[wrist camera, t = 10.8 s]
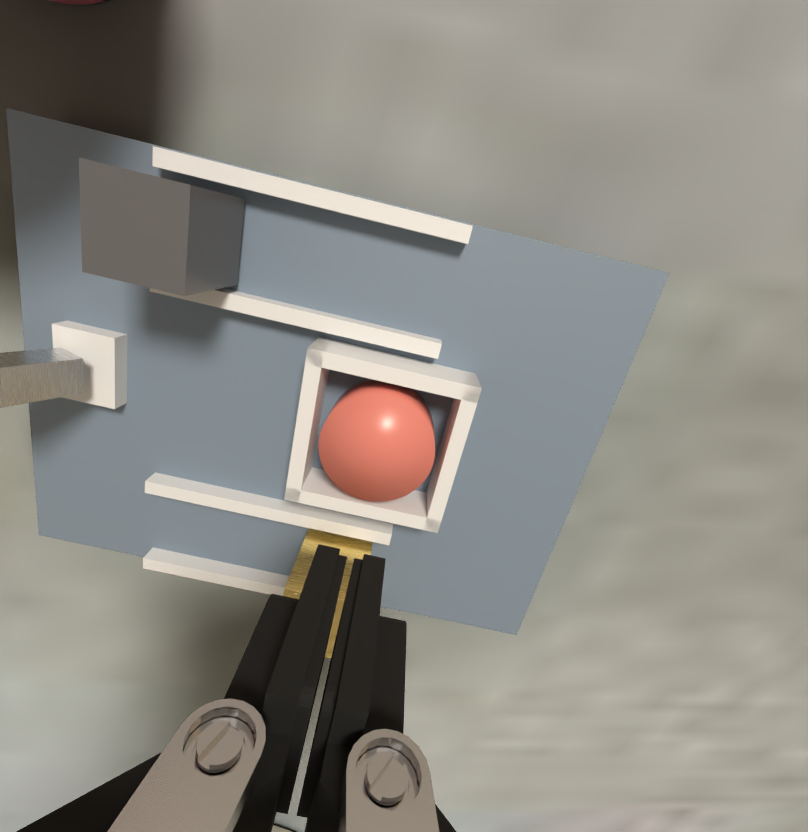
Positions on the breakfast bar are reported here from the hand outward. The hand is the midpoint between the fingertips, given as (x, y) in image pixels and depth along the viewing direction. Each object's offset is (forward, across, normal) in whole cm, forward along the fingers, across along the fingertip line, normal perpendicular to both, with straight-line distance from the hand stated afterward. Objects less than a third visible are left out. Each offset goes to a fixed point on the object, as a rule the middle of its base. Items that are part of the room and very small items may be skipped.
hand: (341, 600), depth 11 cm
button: (+9, 0, -1) cm, 9 cm away
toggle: (+8, +12, -1) cm, 14 cm away
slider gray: (+8, +8, -7) cm, 14 cm away
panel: (+12, +3, -1) cm, 12 cm away
